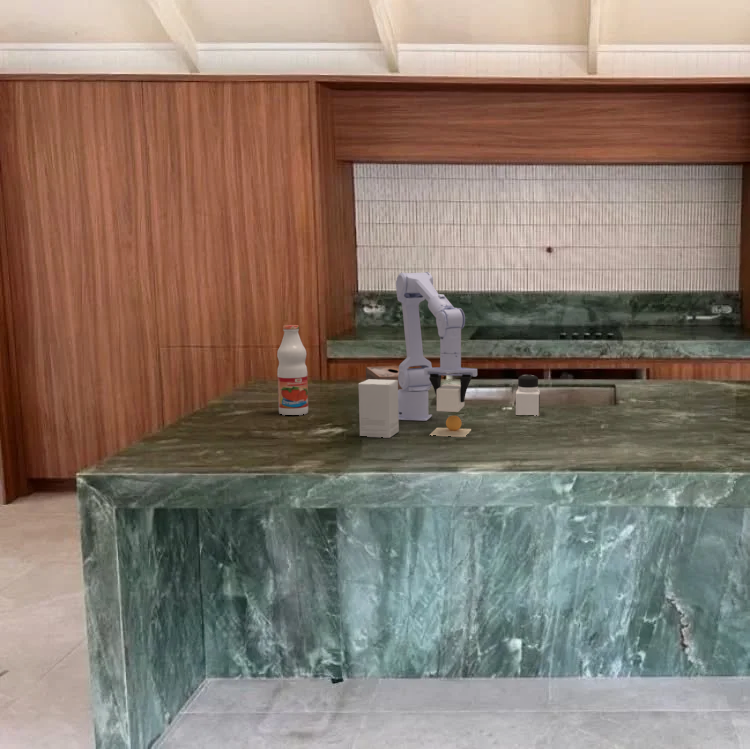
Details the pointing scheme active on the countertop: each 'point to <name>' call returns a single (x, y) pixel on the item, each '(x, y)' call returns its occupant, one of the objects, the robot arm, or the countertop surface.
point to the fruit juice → (292, 374)
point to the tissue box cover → (383, 373)
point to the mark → (450, 432)
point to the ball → (453, 423)
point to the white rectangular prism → (449, 398)
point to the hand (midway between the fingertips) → (450, 401)
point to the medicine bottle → (528, 396)
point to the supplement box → (378, 408)
